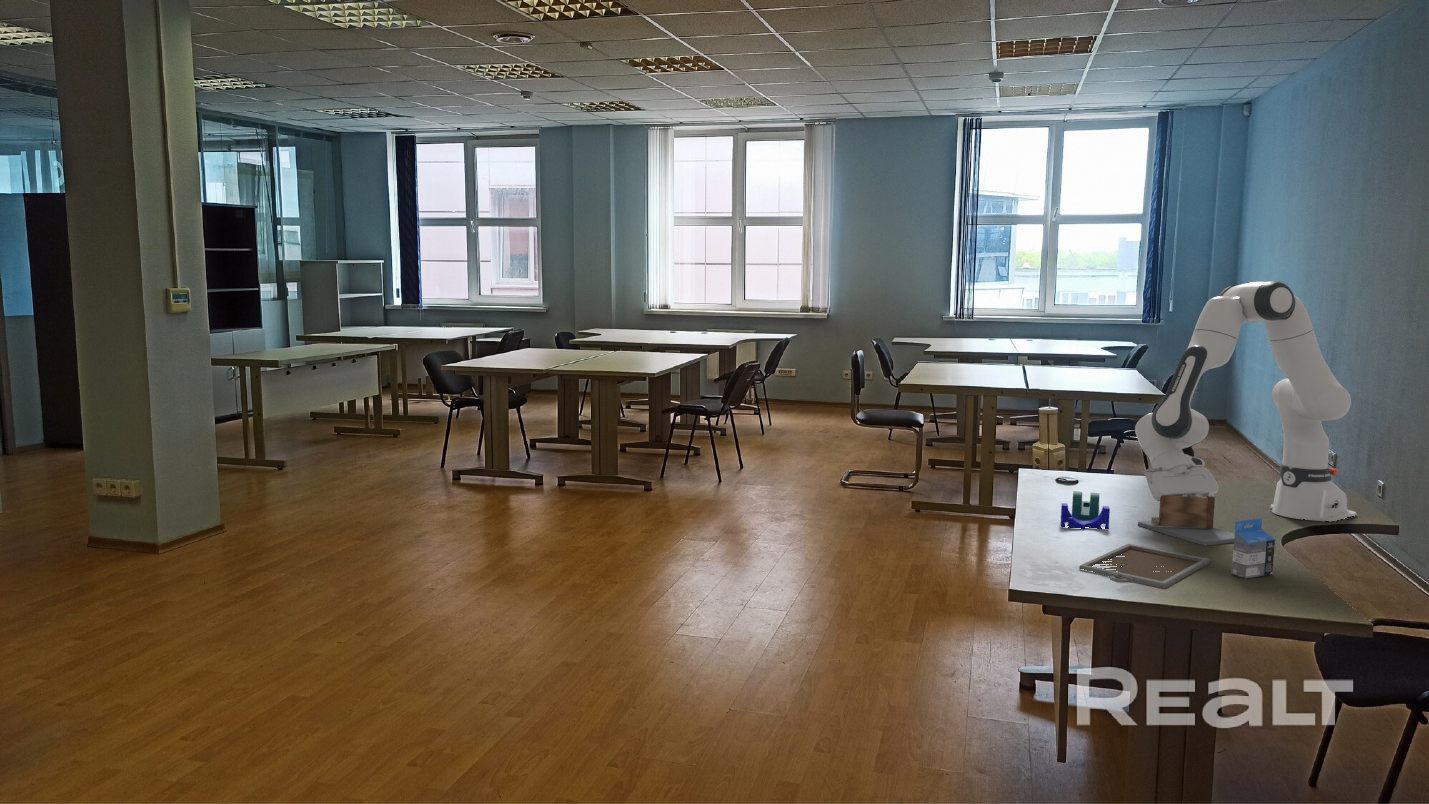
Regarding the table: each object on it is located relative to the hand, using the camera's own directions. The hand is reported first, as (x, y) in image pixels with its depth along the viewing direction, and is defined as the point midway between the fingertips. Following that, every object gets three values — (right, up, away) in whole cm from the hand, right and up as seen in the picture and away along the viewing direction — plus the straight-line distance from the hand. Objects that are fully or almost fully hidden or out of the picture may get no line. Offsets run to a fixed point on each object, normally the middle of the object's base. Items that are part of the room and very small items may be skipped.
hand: (1197, 511), depth 259 cm
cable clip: (-29, -5, +4) cm, 29 cm away
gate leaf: (-5, -4, -1) cm, 6 cm away
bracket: (-23, -3, +18) cm, 29 cm away
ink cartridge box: (-7, -10, -38) cm, 40 cm away
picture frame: (-29, -10, -33) cm, 45 cm away
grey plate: (-3, -6, -2) cm, 6 cm away
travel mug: (+13, -1, +39) cm, 42 cm away
